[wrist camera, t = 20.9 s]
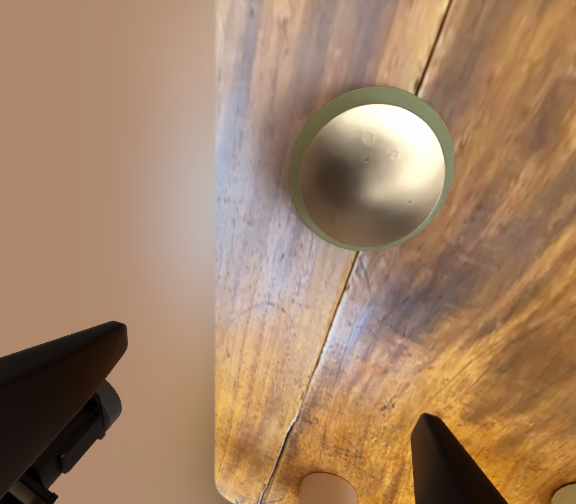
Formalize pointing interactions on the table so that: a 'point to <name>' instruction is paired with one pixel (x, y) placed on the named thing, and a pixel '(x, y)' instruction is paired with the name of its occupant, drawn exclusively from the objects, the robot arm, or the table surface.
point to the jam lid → (372, 175)
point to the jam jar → (326, 490)
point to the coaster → (353, 100)
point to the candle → (565, 495)
